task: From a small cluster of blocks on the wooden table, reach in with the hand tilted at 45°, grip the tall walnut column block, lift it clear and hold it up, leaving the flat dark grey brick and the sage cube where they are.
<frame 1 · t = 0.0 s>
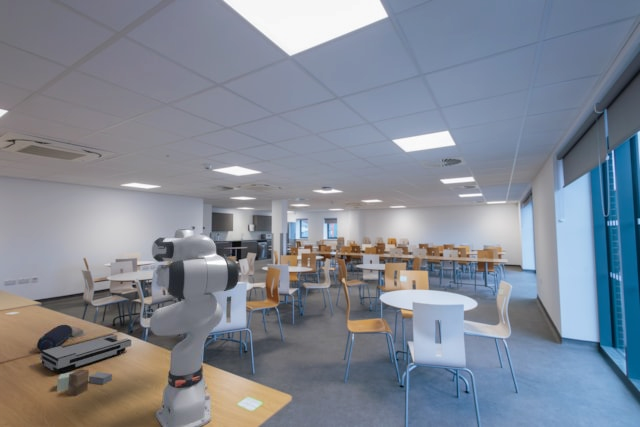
hand: (180, 293, 130), 39 cm above the table, tool pointing down, fingers open, 8 cm apart
packaged product: (69, 336, 186), on the table
grey flat brick: (100, 382, 127), on the table
sage cube: (65, 387, 122), on the table
game console: (87, 359, 150), on the table
portable speaker: (54, 346, 167), on the table
walnut column: (77, 392, 118), on the table
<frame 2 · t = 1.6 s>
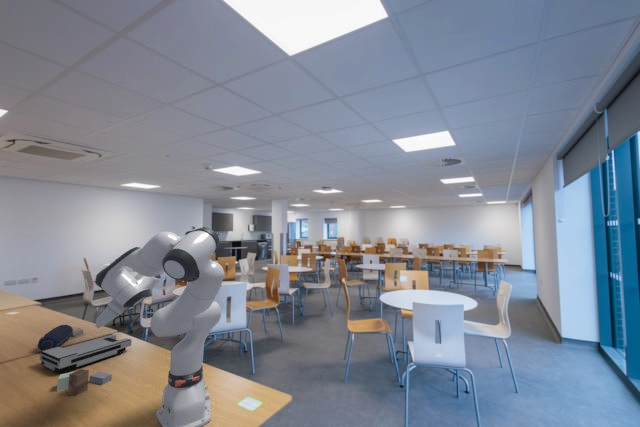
hand: (105, 320, 119), 30 cm above the table, tool tilted 45°, fingers open, 8 cm apart
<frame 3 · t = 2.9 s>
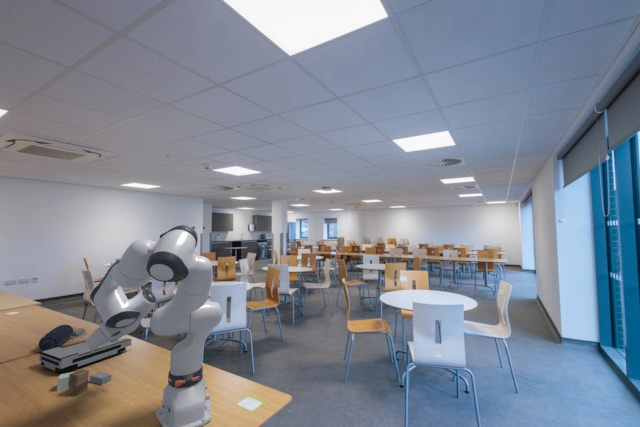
hand: (102, 345, 116), 20 cm above the table, tool tilted 45°, fingers open, 8 cm apart
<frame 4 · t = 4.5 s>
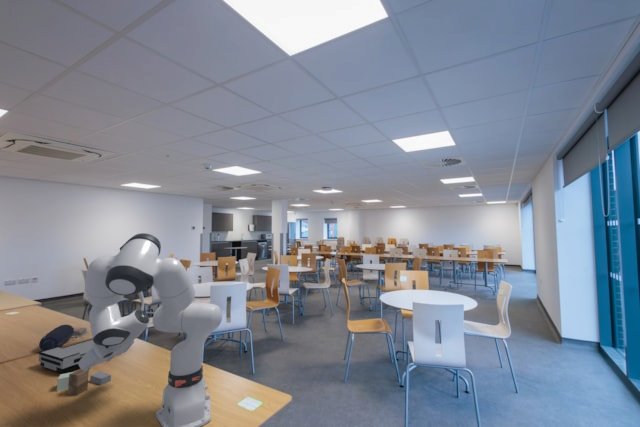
hand: (96, 364, 116), 12 cm above the table, tool tilted 45°, fingers open, 8 cm apart
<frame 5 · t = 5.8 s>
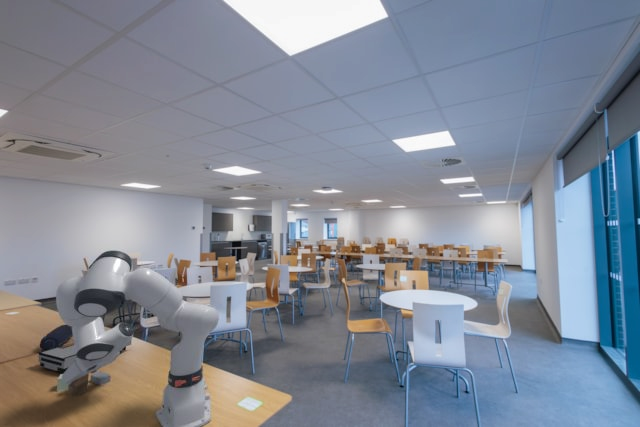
hand: (81, 376, 117), 7 cm above the table, tool tilted 45°, fingers open, 8 cm apart
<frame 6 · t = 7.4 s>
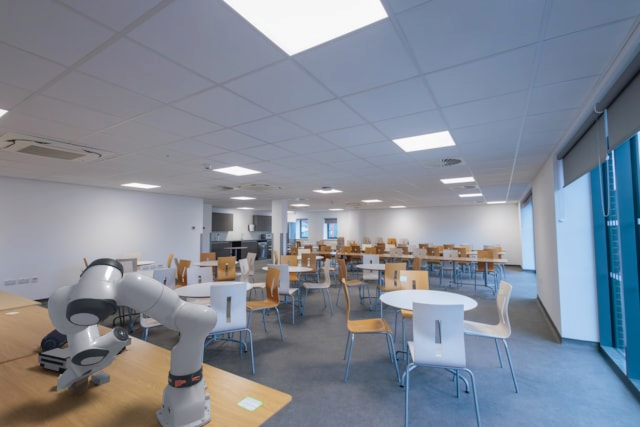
hand: (77, 381, 118), 4 cm above the table, tool tilted 45°, fingers closed on walnut column, 4 cm apart
walnut column: (77, 392, 118), on the table, touching gripper
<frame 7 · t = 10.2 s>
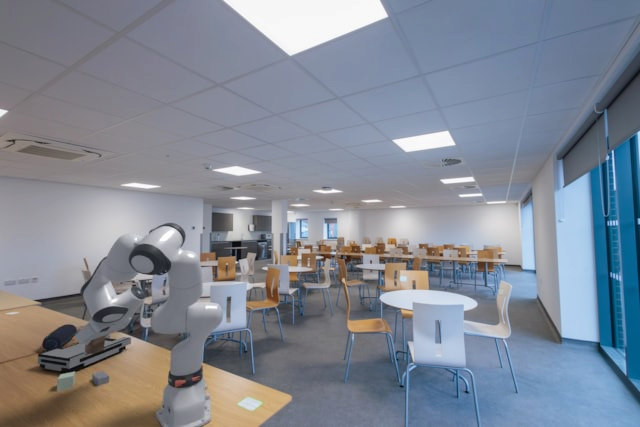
hand: (94, 340, 118), 21 cm above the table, tool tilted 45°, fingers closed on walnut column, 4 cm apart
walnut column: (94, 351, 118), point 17 cm above the table, touching gripper
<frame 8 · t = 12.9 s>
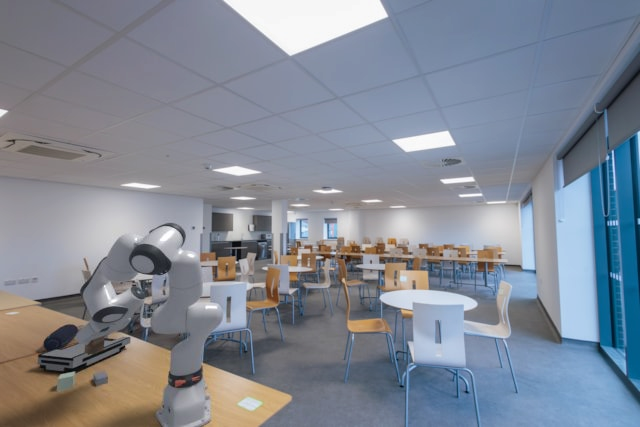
hand: (93, 340, 118), 21 cm above the table, tool tilted 45°, fingers closed on walnut column, 4 cm apart
walnut column: (94, 351, 118), point 17 cm above the table, touching gripper
at the end: the gripper is holding walnut column; walnut column point 17.0 cm above the table; grey flat brick moved 0.3 cm from its start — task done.
